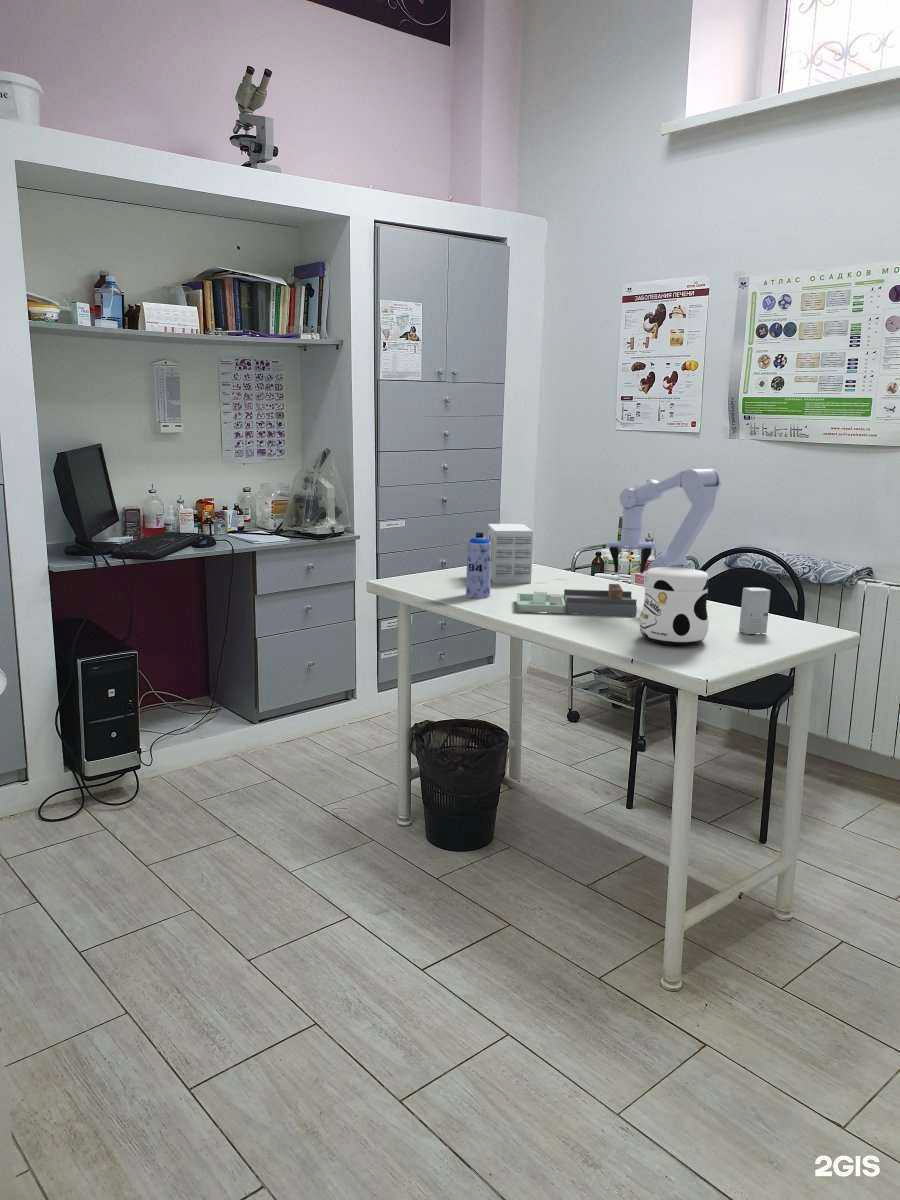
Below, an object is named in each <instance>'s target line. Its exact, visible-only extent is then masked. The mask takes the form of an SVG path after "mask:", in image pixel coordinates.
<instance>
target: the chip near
mask: <svg viewBox="0 0 900 1200" xmlns="http://www.w3.org/2000/svg"><path fill="white" fill-rule="evenodd" d="M549 594H550V597H549V605H560V604H561V596H560V595H561V594H559V593H549Z"/></svg>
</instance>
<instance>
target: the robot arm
mask: <svg viewBox="0 0 900 1200" xmlns="http://www.w3.org/2000/svg"><path fill="white" fill-rule="evenodd" d="M721 485H722V483H721V480H720V475H719V473H718V471H717V470H716V469H714V468H711V467H709V468H697V469H693V468H689V469H686V470H680V471H679V472H677V473H675V474H673V475H671V476H668V477H667V478H664V479H662V480H660V481H659V480H656V479H653V478H650V479H647V480H646V482H645V483H642V484H636V485H634V487H633V488H629V487H625V488H624V489H623V490H622V491H621V493H620V494H619V503H620V504H621V506H622V519H621V520H622V523H621V535H620V536H621V538H620V539H621V540H618V541H615V540H614V541H606V543H605V548H606V549H608V550H609V552H610V555H611V558H612V562H613V566H614V567H613V568H614V573H618V571H619V554H620V552H619V549H621V550H622V549H624V550H627V549H628V550H640V553H641V554H640V565H639V573H640V574H644V571H645V567H646V564H647V562H648V559H649V558H650V556H651V554H652V551H655V549H656V543H655V542H648V541H647V542H646V541H644V542H643V541H641V539H642V538H641V537H642V536H641V535H642V522H643V513H644V511H645V509H644V508H645V506H646V504H648V503H651V502H653V501H656V500H659V499H661V498H662V497H663V495H664V493H665V492H668V491H671V490H675V489H676V488H682V489H683V492H684V493H685V495H686V497H687V499H688V501H689V502H690V503H691V507H690V508H689V510H688V512H687V514H686V516H685V517H684V519H683V520H682V522H681V524H680V526H679V527H678V530H677V531H676V533H675V535H674V536H673V538H672V540H671V542H670V544H669V545H668V547H667V549H665V550H664V551H662V552H661V553H659V554H658V555H657V557H656V558H655V559H654V560H652V561H651V562H650V563H649V565H648V569H650V568H656V567H679V568H686V565H688V560H687V558H686V555H687V554H688V552H689V551H690V549H691V547H692V545H693V544H694V542H695V541H696V539H697V537H698V536H699V534H700V532H701V531H702V529H703V527H704V525H705V524H706V522H707V520H708V518H709V517H710V515H711V514H712V512H713V510H714V508H715V504H716V498H717V492H718V490H719V489H720V487H721ZM648 569H647V570H648Z"/></svg>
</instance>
